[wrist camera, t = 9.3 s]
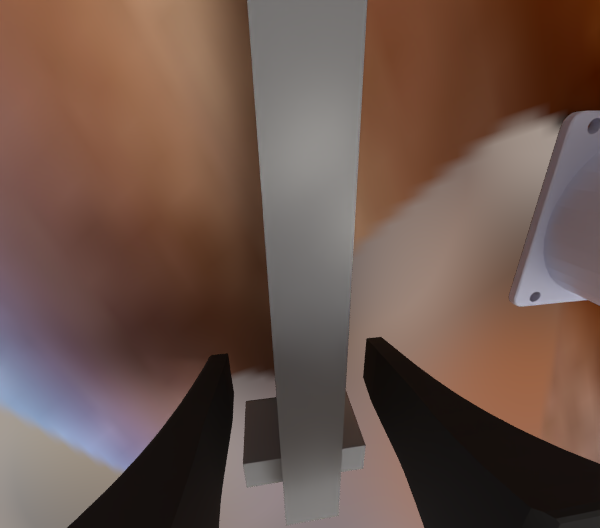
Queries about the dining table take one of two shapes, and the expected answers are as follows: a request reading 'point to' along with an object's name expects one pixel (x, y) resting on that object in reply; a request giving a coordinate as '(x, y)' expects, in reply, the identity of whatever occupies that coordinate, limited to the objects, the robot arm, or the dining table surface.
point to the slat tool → (307, 244)
